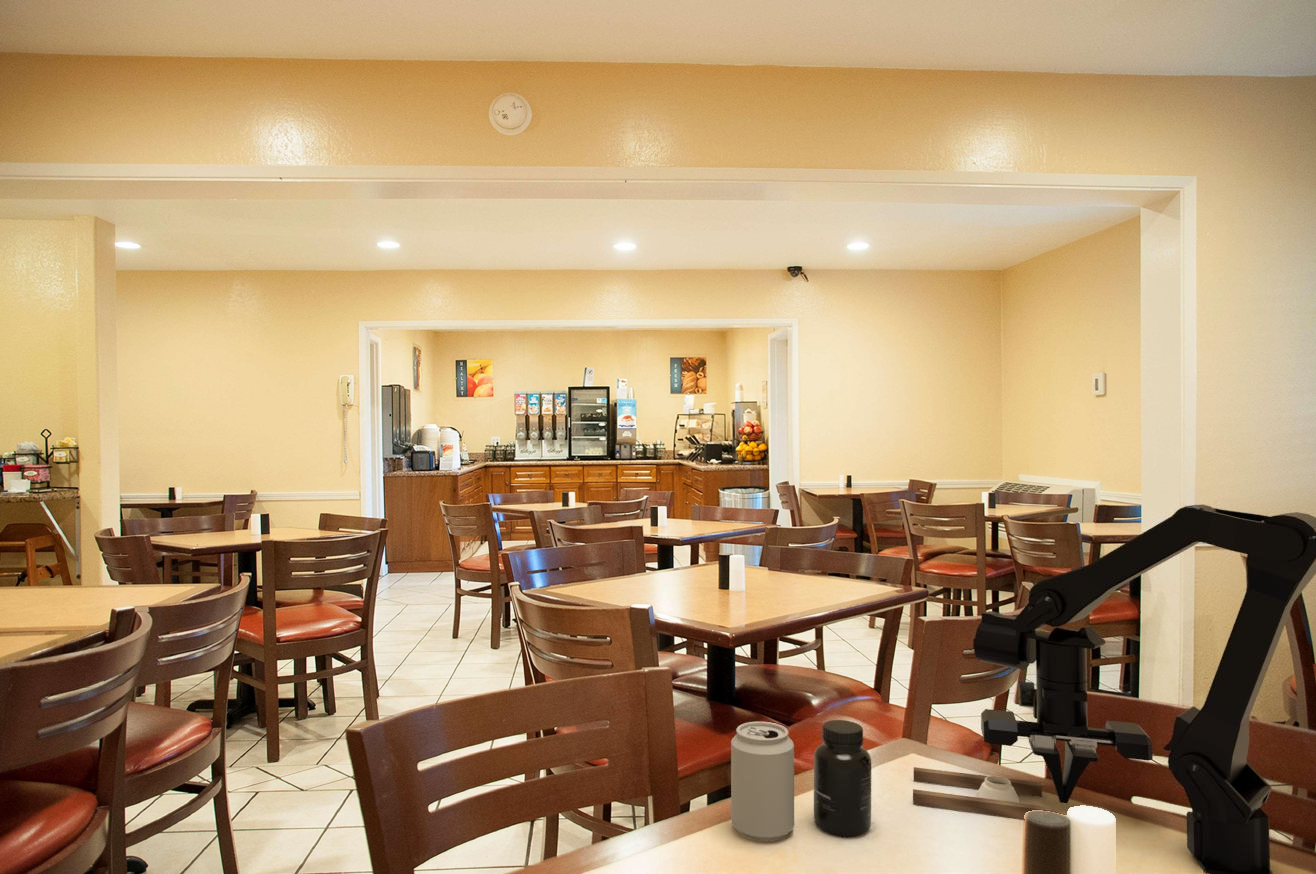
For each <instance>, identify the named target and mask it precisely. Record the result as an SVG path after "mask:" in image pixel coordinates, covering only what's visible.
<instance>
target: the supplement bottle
mask: <svg viewBox="0 0 1316 874" xmlns="http://www.w3.org/2000/svg"><path fill="white" fill-rule="evenodd" d="M821 741H822V742H823V743H821V744H819V745H818V746H817V747H816V749H815V751H814V755H813V821H814V823H815V825H816V826H817V828H819V829H820V831H822V832H824V833H825V834H828V835H831V836H834V837H839V838H845V839H846V838H847V839H848V838H851V839H852V838H857V837H862V836H864V835H866V834H867V833H868V832H869V831H870V829H871V826H872V758H871V755H870V753H869V752H868V751H867V749H866V748H865V747H863V745H864V729H863V727H862V725H860V724H859V723H857V722H854V721H852V720H851V721H850V720H843V719H832V720H828V721H825V722H824V723H823V724H822V735H821Z"/></svg>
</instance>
